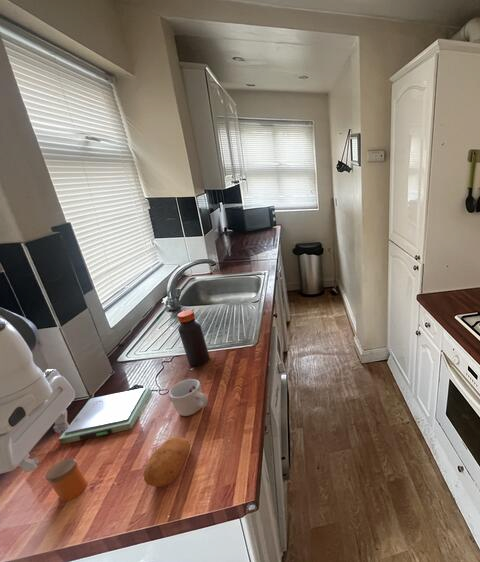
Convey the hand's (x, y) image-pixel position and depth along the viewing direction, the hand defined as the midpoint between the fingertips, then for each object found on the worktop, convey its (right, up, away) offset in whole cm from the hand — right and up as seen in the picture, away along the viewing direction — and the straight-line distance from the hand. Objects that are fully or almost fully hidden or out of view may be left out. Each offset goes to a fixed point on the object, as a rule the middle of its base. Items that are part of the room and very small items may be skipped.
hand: (49, 447), depth 64 cm
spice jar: (0, -12, +5) cm, 13 cm away
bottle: (+4, +5, +49) cm, 49 cm away
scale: (-9, -4, +25) cm, 27 cm away
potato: (+20, -10, +9) cm, 24 cm away
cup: (+15, -3, +26) cm, 31 cm away
